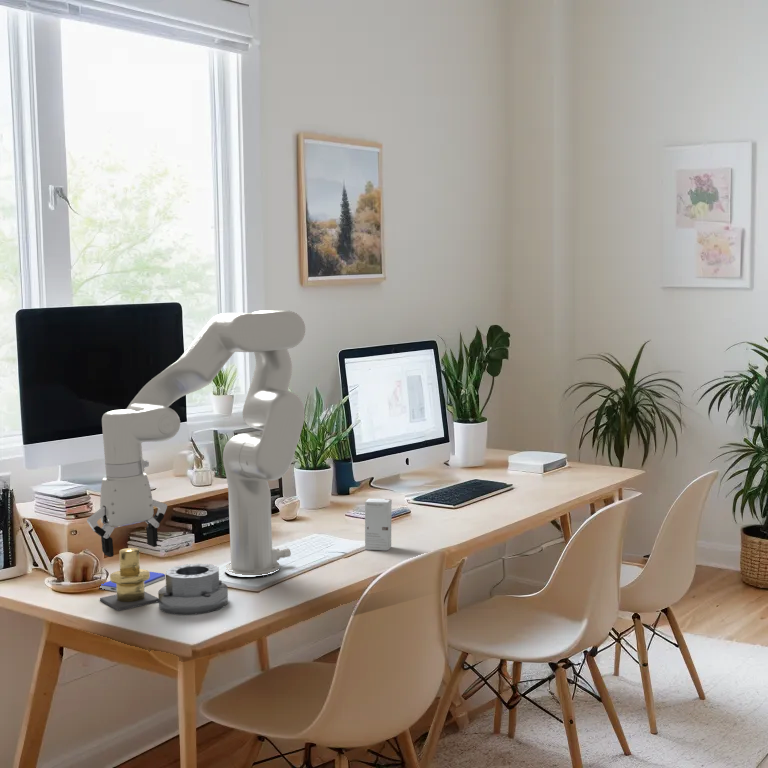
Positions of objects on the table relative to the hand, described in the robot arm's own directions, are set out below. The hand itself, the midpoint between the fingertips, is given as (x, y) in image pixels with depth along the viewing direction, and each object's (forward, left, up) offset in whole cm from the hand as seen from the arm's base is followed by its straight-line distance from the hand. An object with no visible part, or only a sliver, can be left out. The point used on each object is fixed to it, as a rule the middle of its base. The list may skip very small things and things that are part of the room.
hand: (130, 550), depth 211 cm
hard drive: (-5, -12, -11) cm, 17 cm away
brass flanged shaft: (+1, 0, -10) cm, 10 cm away
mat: (+1, 0, -11) cm, 11 cm away
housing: (-8, +11, -11) cm, 17 cm away
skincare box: (-64, +2, -11) cm, 65 cm away
